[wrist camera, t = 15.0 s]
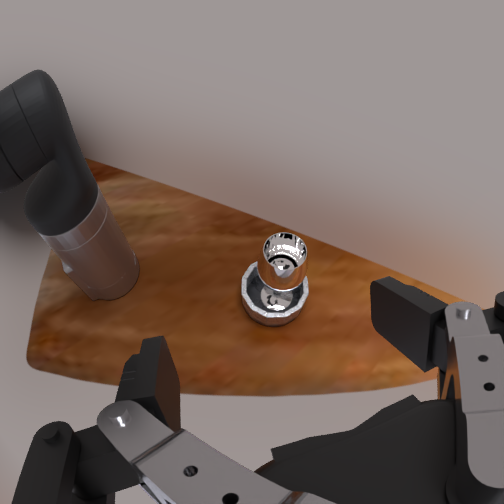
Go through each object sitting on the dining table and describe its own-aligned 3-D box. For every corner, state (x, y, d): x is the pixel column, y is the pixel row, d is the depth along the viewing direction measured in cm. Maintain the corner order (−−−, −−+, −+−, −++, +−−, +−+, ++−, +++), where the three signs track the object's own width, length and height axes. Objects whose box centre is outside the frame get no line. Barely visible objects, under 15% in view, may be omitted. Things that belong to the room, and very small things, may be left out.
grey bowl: (262, 338, 42) (263, 329, 39) (231, 287, 46) (229, 275, 42) (315, 307, 44) (320, 296, 41) (282, 261, 48) (284, 247, 45)
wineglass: (276, 269, 46) (284, 219, 36) (305, 296, 44) (323, 252, 34) (247, 294, 44) (246, 249, 34) (276, 323, 42) (285, 285, 32)
